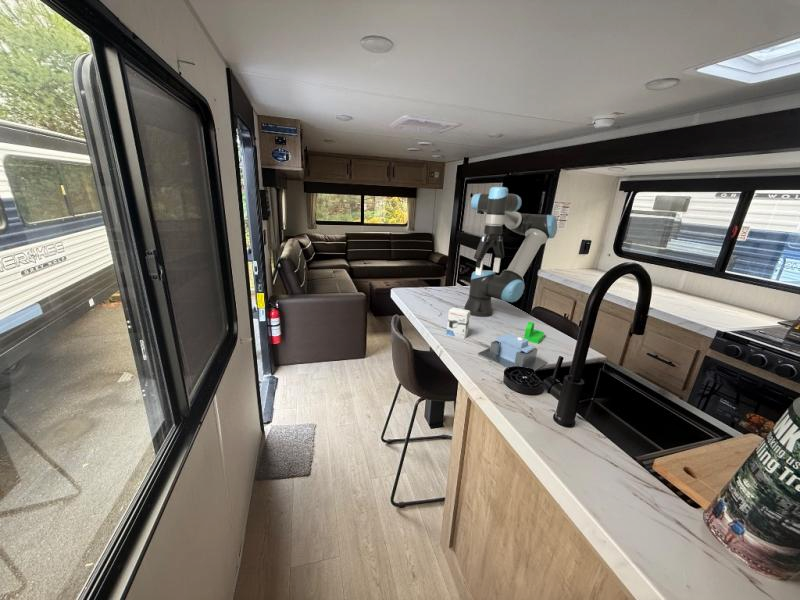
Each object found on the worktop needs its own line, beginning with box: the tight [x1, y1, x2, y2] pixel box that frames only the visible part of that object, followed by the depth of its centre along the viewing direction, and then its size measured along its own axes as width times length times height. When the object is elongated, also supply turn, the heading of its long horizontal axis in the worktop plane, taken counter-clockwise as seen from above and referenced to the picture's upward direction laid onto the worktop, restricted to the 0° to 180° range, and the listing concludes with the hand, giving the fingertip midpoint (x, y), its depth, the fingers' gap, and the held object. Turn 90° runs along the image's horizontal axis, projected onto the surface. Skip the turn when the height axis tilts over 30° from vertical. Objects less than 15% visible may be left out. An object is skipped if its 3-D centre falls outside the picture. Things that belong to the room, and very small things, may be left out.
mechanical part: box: [523, 321, 545, 344], centre depth 138 cm, size 12×6×8 cm, turn 141°
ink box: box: [445, 306, 471, 340], centre depth 135 cm, size 8×5×12 cm, turn 62°
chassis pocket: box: [477, 340, 548, 372], centre depth 117 cm, size 16×20×6 cm
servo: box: [495, 332, 535, 362], centre depth 116 cm, size 5×13×9 cm, turn 41°
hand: (487, 273), depth 139 cm, fingers open, 13 cm apart
